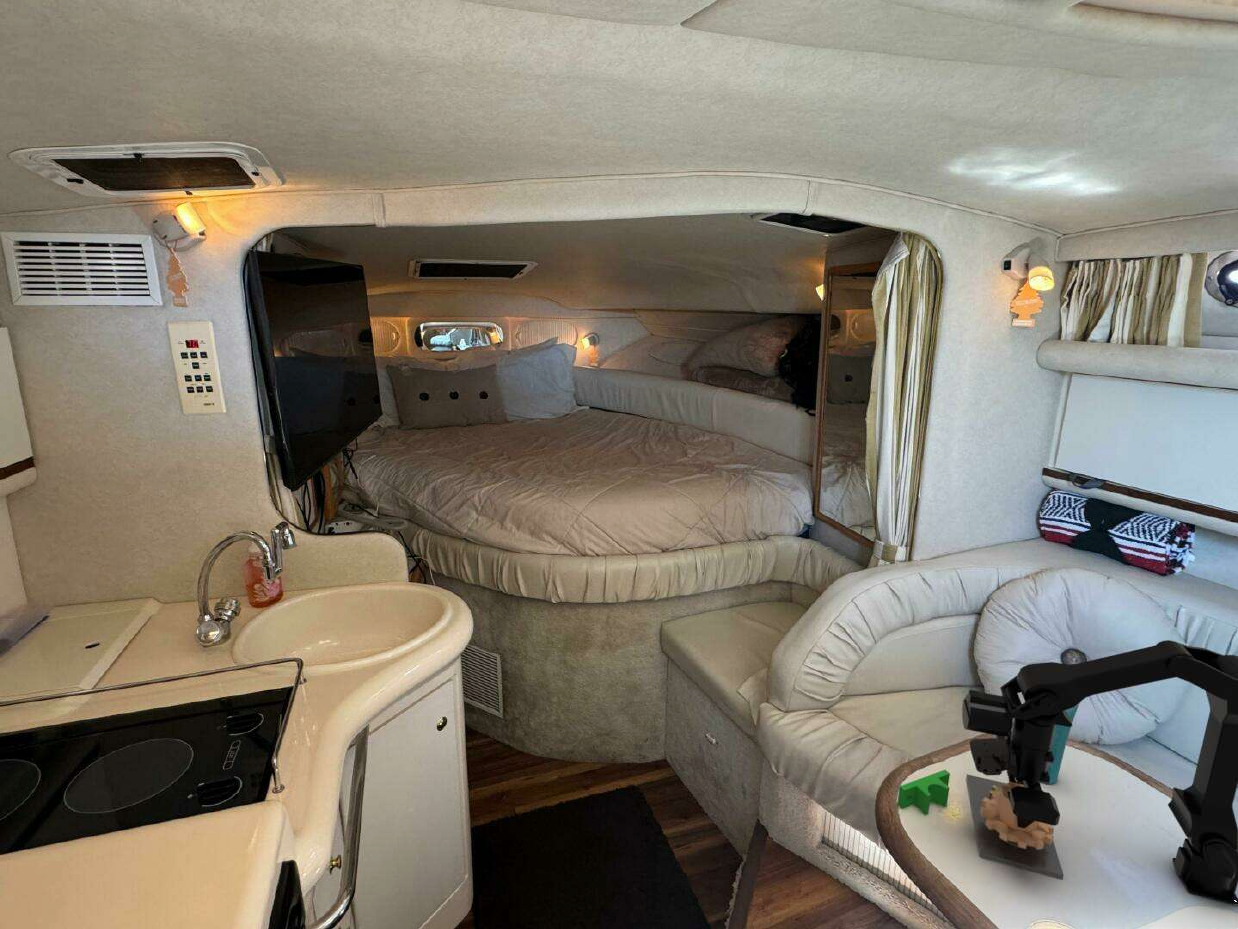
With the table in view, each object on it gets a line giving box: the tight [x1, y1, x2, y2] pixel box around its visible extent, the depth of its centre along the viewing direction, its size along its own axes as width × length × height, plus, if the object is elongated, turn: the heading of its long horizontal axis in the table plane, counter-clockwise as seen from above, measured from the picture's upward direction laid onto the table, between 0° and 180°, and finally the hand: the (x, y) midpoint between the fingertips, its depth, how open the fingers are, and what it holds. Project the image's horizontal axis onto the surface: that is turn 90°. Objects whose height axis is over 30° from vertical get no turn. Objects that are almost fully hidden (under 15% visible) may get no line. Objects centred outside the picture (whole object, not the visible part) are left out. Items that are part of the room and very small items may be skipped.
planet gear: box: [980, 781, 1055, 850], centre depth 108 cm, size 11×11×6 cm
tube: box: [1040, 702, 1081, 785], centre depth 121 cm, size 7×5×19 cm, turn 32°
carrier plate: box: [965, 773, 1065, 881], centre depth 112 cm, size 12×19×7 cm, turn 158°
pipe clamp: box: [897, 769, 951, 816], centre depth 117 cm, size 11×4×5 cm, turn 110°
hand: (1017, 814), depth 109 cm, fingers closed on planet gear, 5 cm apart
